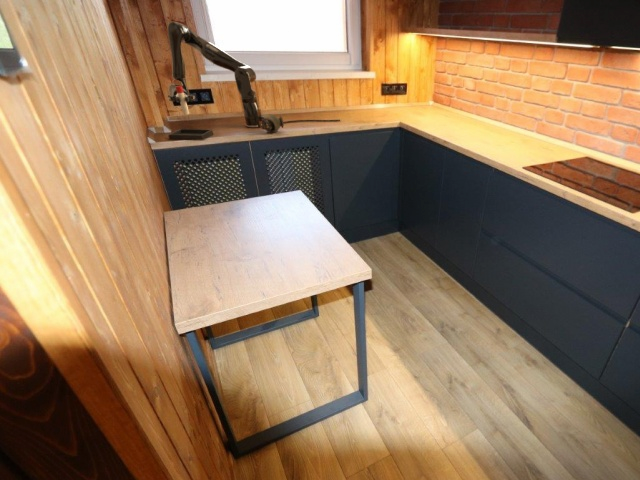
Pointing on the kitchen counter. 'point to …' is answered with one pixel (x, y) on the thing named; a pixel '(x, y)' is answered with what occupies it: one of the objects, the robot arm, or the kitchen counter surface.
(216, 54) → the robot arm
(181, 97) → the marker
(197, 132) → the tray
